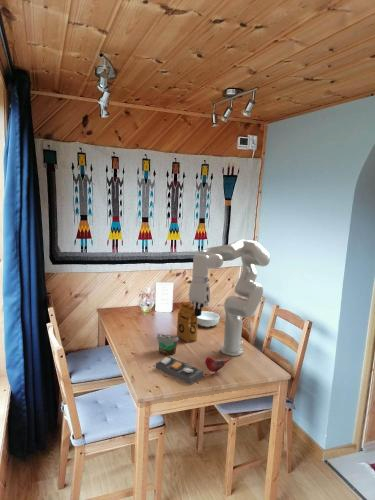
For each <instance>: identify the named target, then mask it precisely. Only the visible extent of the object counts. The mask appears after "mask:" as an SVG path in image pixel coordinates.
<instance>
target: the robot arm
mask: <svg viewBox="0 0 375 500" xmlns="http://www.w3.org/2000/svg"><path fill="white" fill-rule="evenodd" d="M238 258H240V259H241V262H242V271H241V274H240V275H239V278H238V280H237V282H236V285H235V287H234V293H235V294H236V295H237V296H235V295H231V296H228V297H227V298H226V299H225V301H224V303H223V304H224V307H223V308H224V314H225V316H224V317H225V318H224V319H225V320H224V333H223V345H221V346H220V352H221V353H222V354H224V355H226V356H232V357H235V356H240V355H242V354H244V350H243V348H242V345H244V344H245V343H244V340H242V334H243V333H242V330H243V318H244V319H250V318H252V317H253V316H254V315H255V313H256V311H257V309H258V306H259V305H260V303H261V300H262V298H263V294H264V287H263V286H262V284H260V283H258V282H257V281H256V279H257V276H258V272H257V269H256V266H258V267H267V266H268V265H269V264H270V261H271V257H270V253H269V252H268V251H267V249H266V248H264V247H263V245H261V244H260V243H259V242H257V241H256V240H249V239H239V240H235V241H233V242H231V243H228V244H226V245H225V244H224V245H219V246H212V247H207V248H205V249H202V250H200V251H199V252H198V253H195V254H194V255H193V262H192V263H193V264H192V275H191V276H192V277H191V278H192V279H191V282H190V286H189V289H188V290H189V291H188V299H189V300H188V301H189V303H190V304H192V305H193V306H194V309H195V316H197V317H198V316H201V311H202V309H203V308H204V307H208V306H209V303H210V301H211V287H210V284H209V282H210V279H209V277H208V276H209V269H210V270H211V269H213V270H215V269H219V268H221V267H222V266H223V264H224V261H225V262H230V261H234V260H236V259H238ZM239 296H240V297H239ZM242 317H243V318H242Z"/></svg>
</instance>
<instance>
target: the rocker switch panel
mask: <svg viewBox="0 0 375 500" xmlns="http://www.w3.org/2000/svg"><path fill="white" fill-rule="evenodd" d="M166 357H167V358H170V359H171V361H170V362H169V363H168V364H166V365H164V364H162V363H161V361H162V360H163V359H161V360H159V361H157V362H155V369H156V370H157V371H161V372H163V373H164V374H167V375H169V376H172V377H174V378H176V379H178V380H179V381H182V382H184V383H186V384H189V385H192V384H193V383H195V382H197V381H199V380H200V379H202V378H203V377H204V370H202V369H200V368H198V367H197V366H193V365H192V364H188V363H186V362H184V361H181V360H179V359H176V358H174V357H171V356H166ZM176 362H179V363H181V364H182V366H181V367H179V368H178V369H177V370H176V369H174V368H172V365H173V364H174V363H176ZM184 368H190V369H192V370H194V371H193V372H190V373H188V372H185V371H183V369H184Z"/></svg>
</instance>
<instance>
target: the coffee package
mask: <svg viewBox="0 0 375 500" xmlns="http://www.w3.org/2000/svg"><path fill="white" fill-rule="evenodd" d="M180 305H181V306H180V308H179V311H178V313H177V320H176V322H177V323H176V324H177V325H176V337H178V338H180V339H181V340H183V341H185V342H186V343H192V342H196V341H198V329H199V328H198V325H199V324H198V323H197V316H195V308H194V305H193V304H192V303H190V302H187V301H182V302H181V303H180Z"/></svg>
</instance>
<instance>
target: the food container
mask: <svg viewBox="0 0 375 500" xmlns="http://www.w3.org/2000/svg"><path fill="white" fill-rule="evenodd" d="M156 339H157V340H158V341H157V342H158V353H159V354H160V355H162V356H166V357H171V356H174V355H176V352H177V348H178V341H179V340H180V339H179V337H178V336H176V337H175V336H171V335H168V334H160V332H158V334H157V336H156Z"/></svg>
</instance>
